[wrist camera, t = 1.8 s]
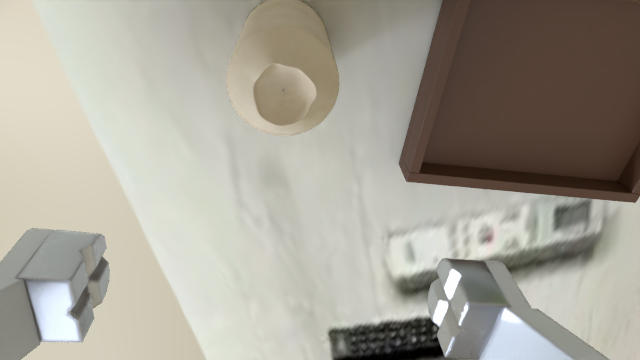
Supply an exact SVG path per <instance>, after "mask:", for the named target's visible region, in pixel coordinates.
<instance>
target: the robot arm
mask: <svg viewBox="0 0 640 360" xmlns="http://www.w3.org/2000/svg"><path fill="white" fill-rule="evenodd" d="M105 250H106V242H105V237H104V236H103V235H102V234H97V233H86V232H75V231H65V230H50V229H39V228H32V229H30V230H27V231H26V232H25V233H24V234H23V236H22V237H21V238H20V239H19V240H18V242H17V243H16V244H15V245H14V246H13V247H12V249H11V250H10V251H9V252H8V254H7V255H6V256H5V257H4V258H3V260H2V261H1V262H0V360H21V359H22V358H23V357H25V356H26V355H27V354H28V353H30V352H31V351H32V350H33V349H35V348H36V347H37V346H38V345H40V342H83V340H84V338H85V336H86V334H87V332H88V330H89V328H90V326H91V324H92V322H93V320H94V314H93V308H95V307H96V306H97V305H99V304H100V303H102V301H103V299H104V296H105V294H106V291H107V287H108V283H109V263H108V262H107V261H106V260H105V259H104V258H103V257H102V255H103V253H104V252H105ZM437 273H438V275H439V278H438V279H436V280H435V281H434V282H432V283H431V287H430V290H429V293H428V308H429V313H430V316H431V319H432V321H433V322H434V323H436V324H437V325H438V326H439V327H440V328H439V331H438V333H437V336H438V339H439V342H440V345H441V347H442V350H443V353H444V356H445V358H459V359H474V360H610V359H608V358H607V357H605V356H604V355H603V354H601V353H600V352H598V351H597V350H595V349H594V348H593V347H591V346H590V345H588V344H587V343H585V342H584V341H583V340H581V339H580V338H578V337H577V336H575V335H574V334H573V333H571V332H570V331H568V330H567V329H566V328H564V327H563V326H561V325H560V324H558V323H557V322H556V321H554V320H553V319H551V318H550V317H548V316H547V315H546V314H544V313H543V312H541V311H540V310H538V309H532V308H531V306H530V305H529V303H528V302H527V300H526V298H525V297H524V295H523V294H522V292H521V290H520V289H519V287H518V286H517V284H516V282H515V281H514V279H513V277H512V276H511V274H510V273H509V271H508V269H507V268H506V266H505V265H504V264H503V263H502V262H500V261H487V260H481V261H478V260H463V259H447V258H443V259H442V260H441V261H440V262H439V265H438V267H437Z"/></svg>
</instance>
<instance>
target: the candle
mask: <svg viewBox="0 0 640 360" xmlns="http://www.w3.org/2000/svg"><path fill="white" fill-rule="evenodd" d="M226 85H227V91H228V95H229V98H230V101H231V103H232V105H233V107H234V108H235V110H236V112H237V113H238V114H239V115H240V116H241V118H242V119H244V120H245V121H246V122H247V123H248V124H250V125H251V126H252V127H254V128H256V129H258V130H260V131H262V132H265V133H268V134H272V135H279V136H289V135H296V134H300V133H303V132H306V131H308V130H310V129H312V128H314V127H315V126H317V125H318V124H319V123H321V122H322V121H323V120H324V119H325V118H326V117H327V115H328V114H329V113H330V111H331V110H332V108H333V106H334V104H335V102H336V99H337V96H338V91H339V75H338V69H337V66H336V63H335V59H334V56H333V53H332V49H331V46H330V42H329V39H328V36H327V33H326V29H325V27H324V24H323V22H322V20H321V18H320V17H319V15H318V14H317V13H316V12H315V10H314V9H312V8H311V7H310V6H309V5H307V4H306V3H304V2H302V1H300V0H266V1H265V2H263V3H261V4H260V5H258V6H257V7H256V8H255V9H254V10H253V11H252V12H251V13H250V15H249V16H248V18H247V20H246V22H245V24H244V26H243V29H242V31H241V34H240V36H239V39H238V41H237V44H236V47H235V49H234V52H233V54H232V57H231V59H230V62H229V65H228V69H227V76H226Z"/></svg>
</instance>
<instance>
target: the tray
mask: <svg viewBox="0 0 640 360" xmlns="http://www.w3.org/2000/svg"><path fill="white" fill-rule="evenodd" d="M399 165H400V168H401V170H402V173H403V175H404V177H405V180H406V182H416V183H427V184H437V185H448V186H459V187H470V188H481V189H492V190H503V191H514V192H525V193H535V194H546V195H557V196H568V197H579V198H590V199H601V200H612V201H623V202H634V203H636V201H637V200H638V198H639V196H640V0H443V2H442V6H441V10H440V13H439V17H438V21H437V24H436V28H435V32H434V36H433V39H432V43H431V47H430V51H429V54H428V58H427V62H426V65H425V69H424V73H423V77H422V80H421V84H420V88H419V91H418V95H417V99H416V103H415V106H414V110H413V114H412V117H411V121H410V125H409V129H408V132H407V136H406V140H405V143H404V147H403V151H402V155H401V158H400V162H399Z"/></svg>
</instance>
